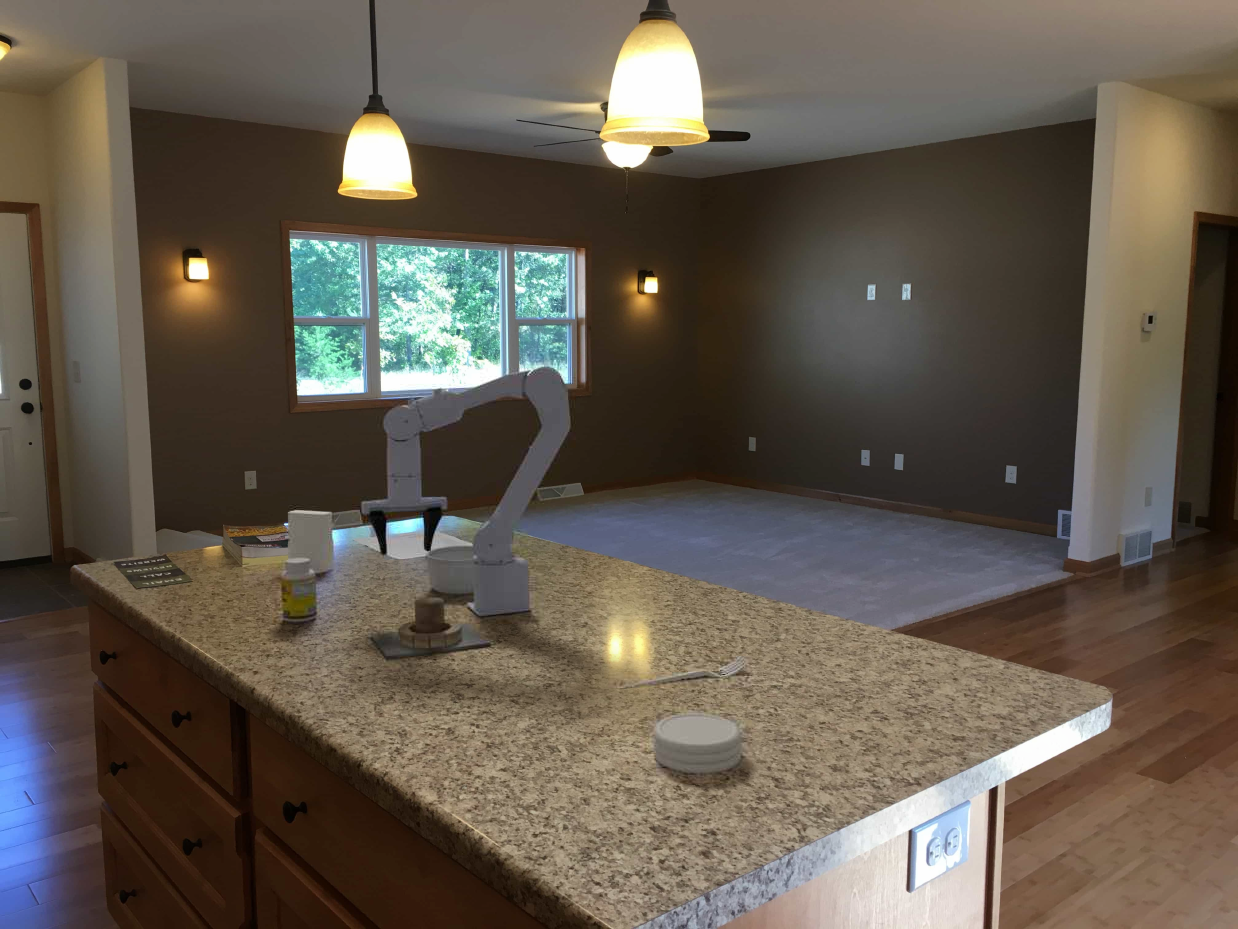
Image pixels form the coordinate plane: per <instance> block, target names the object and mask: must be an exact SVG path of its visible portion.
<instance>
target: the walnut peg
mask: <svg viewBox="0 0 1238 929" xmlns="http://www.w3.org/2000/svg"><path fill="white" fill-rule="evenodd" d="M444 619H445V600H444V599H443V598H440V597H423V598H419V599H416V600H415V601H414V621H415V633H425V634H431V633H439V632H443V631H445V628H444Z"/></svg>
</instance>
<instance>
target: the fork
mask: <svg viewBox="0 0 1238 929" xmlns="http://www.w3.org/2000/svg"><path fill="white" fill-rule="evenodd" d="M749 663H750V660H747V659H746V658H744V657H742V656H740V657H738V658H737V659H735V660H734V661H733V662H730V663H729V664H727V665H725V666H723V667H720V668H718V670H719V672H720V670H723V671H721V672H723V673H721V674H725V675H724V676H727V677H732V676H731V675H733V676H735V675H737V674H738V673H740V672H741V671H742V670H743V669H744V668H745V667H746V666H747V665H748V664H749ZM711 671H712V670H708V669H703V668H702V669H699V670H694V671H688V672H684V673H678V674H674V675H670V676H664V677H660V678H655V679H651V680H646V681H640V682H637V683H631V684H626V685H622V686H623V688H624V689H626V688H625V687H631V688H633V687H632V686H638V687H640V686H639V685H645V686H647V685H646V684H653V683H660V682H667V683H669V682H668V681H674V680H679V681H682V680H681V679H685V680H688V679H687V678H690V679H694V678H700V677H704V676H706V677H707V676H708V677H711V678H713V677H719V678H724V677H723V676H722V677H721V676H719V675H716V674H715V673H713V672H711ZM726 673H728V674H726ZM674 682H675V681H674ZM660 684H661V683H660ZM653 685H654V684H653Z"/></svg>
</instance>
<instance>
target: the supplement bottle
mask: <svg viewBox="0 0 1238 929" xmlns="http://www.w3.org/2000/svg"><path fill="white" fill-rule="evenodd" d="M284 568H285V570H284V571H283V572H281V574H280V582H281V583H280V584H281V607H282V608H281V609H282V618H283V620H284V621H286V622H288V623H304V622H309V621H311V620H315V618H317V612H318V611H317V607H318V606H317V584H316V582H317V581H316V578H317V577H316V574H315V572H314V571H313V570H312V569H310V560H309V559H307V558H293V559H289V558H288V559H286V560H285V567H284Z"/></svg>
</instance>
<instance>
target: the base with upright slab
mask: <svg viewBox="0 0 1238 929" xmlns="http://www.w3.org/2000/svg"><path fill="white" fill-rule="evenodd" d="M287 522H288V524H287V526H288V542H287V544H288V546H287V547H288V548H287V549H288V559H293V558H307V559H309V560H310V569H312V570H313V571H314V572H315V573H316V574H321V573H322V572H323V573H327V572H330V571H329V570H331V571H332V569H333V570H334V569H335V551H334V549H335V546H334V538H333V513H332V511H321V510H320V511H318V510H303V509H302V510H300V509H296V510H291V511H288V512H287Z"/></svg>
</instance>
